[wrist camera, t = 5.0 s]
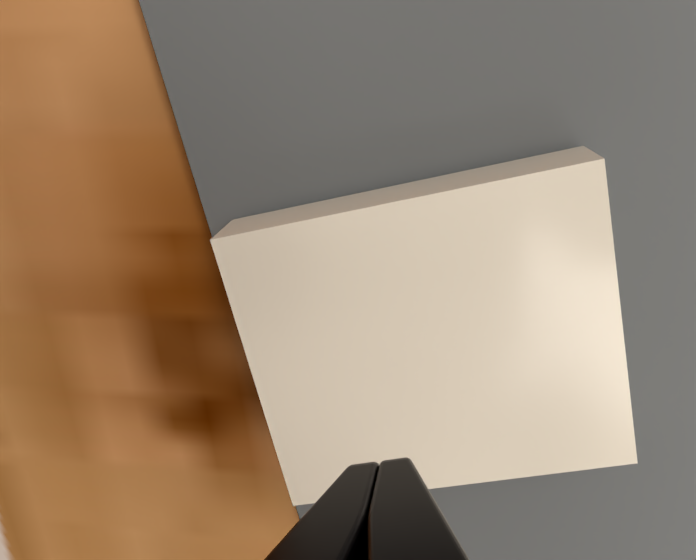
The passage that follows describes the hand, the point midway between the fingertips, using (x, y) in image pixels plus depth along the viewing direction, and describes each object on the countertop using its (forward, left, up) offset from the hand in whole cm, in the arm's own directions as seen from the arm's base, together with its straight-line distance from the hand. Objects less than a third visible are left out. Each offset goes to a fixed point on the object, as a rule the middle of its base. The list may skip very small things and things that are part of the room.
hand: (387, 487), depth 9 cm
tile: (0, -4, -5) cm, 6 cm away
